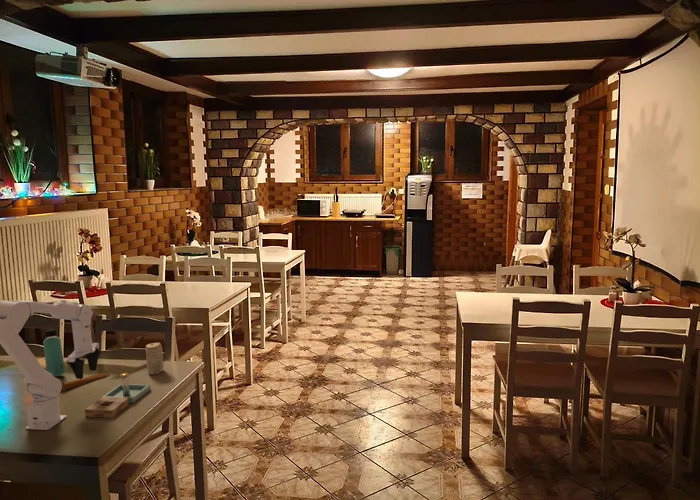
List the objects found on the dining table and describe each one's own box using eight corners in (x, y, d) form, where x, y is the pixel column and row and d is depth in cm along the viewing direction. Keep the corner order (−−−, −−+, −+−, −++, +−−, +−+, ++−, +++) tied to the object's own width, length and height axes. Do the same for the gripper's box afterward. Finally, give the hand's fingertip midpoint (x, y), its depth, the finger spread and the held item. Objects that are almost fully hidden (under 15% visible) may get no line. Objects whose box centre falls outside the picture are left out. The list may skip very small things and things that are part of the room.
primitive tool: (102, 374, 221) (101, 366, 221) (111, 376, 219) (110, 368, 218) (58, 391, 205) (57, 383, 204) (67, 394, 202) (66, 385, 202)
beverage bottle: (64, 378, 216) (59, 330, 213) (45, 381, 214) (39, 333, 211) (66, 373, 222) (61, 326, 219) (48, 375, 220) (42, 328, 217)
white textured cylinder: (145, 376, 216) (142, 347, 214) (150, 369, 224) (147, 341, 222) (161, 375, 217) (158, 346, 215) (166, 368, 224) (163, 340, 222)
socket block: (112, 417, 180) (111, 410, 180) (85, 416, 182) (84, 409, 181) (129, 404, 190) (128, 397, 190) (103, 403, 191) (102, 397, 191)
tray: (133, 403, 191) (132, 398, 190) (102, 402, 193) (101, 397, 192) (150, 389, 202) (150, 384, 202) (121, 388, 204) (120, 383, 204)
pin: (128, 396, 195) (126, 375, 194) (120, 396, 196) (118, 375, 195) (132, 393, 198) (130, 372, 197) (125, 393, 199) (122, 372, 198)
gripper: (79, 344, 182) (83, 382, 184) (105, 331, 196) (108, 367, 198) (60, 344, 183) (65, 382, 185) (87, 331, 197) (91, 366, 199)
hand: (86, 374), depth 192 cm, fingers open, 7 cm apart
